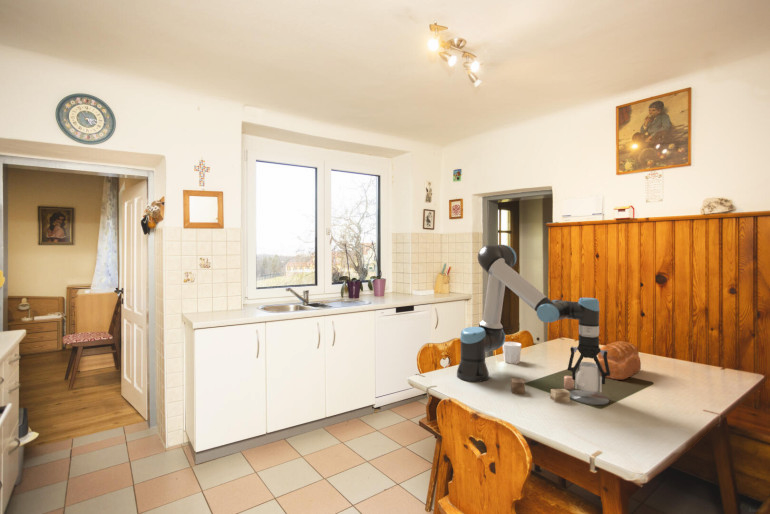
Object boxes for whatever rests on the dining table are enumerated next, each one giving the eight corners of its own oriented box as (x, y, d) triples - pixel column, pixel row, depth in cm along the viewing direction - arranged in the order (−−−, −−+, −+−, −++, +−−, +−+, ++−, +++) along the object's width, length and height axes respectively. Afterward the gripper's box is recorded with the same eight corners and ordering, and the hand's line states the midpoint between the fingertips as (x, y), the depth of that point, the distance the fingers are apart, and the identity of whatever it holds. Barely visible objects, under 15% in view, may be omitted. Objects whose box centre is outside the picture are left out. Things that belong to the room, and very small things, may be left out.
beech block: (555, 402, 158) (555, 392, 158) (550, 398, 162) (550, 389, 162) (569, 402, 158) (569, 392, 158) (564, 398, 162) (564, 388, 162)
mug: (586, 395, 156) (586, 369, 156) (567, 389, 163) (567, 364, 163) (604, 390, 162) (604, 365, 162) (585, 384, 169) (585, 360, 169)
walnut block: (512, 393, 167) (512, 382, 167) (510, 389, 172) (510, 378, 172) (524, 394, 166) (524, 382, 166) (522, 390, 171) (522, 379, 171)
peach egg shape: (563, 388, 173) (563, 377, 173) (564, 386, 176) (564, 375, 176) (573, 390, 171) (573, 379, 171) (574, 387, 174) (574, 376, 174)
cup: (523, 364, 210) (523, 346, 210) (505, 364, 210) (505, 346, 210) (517, 359, 220) (517, 341, 220) (499, 359, 220) (500, 341, 220)
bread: (592, 375, 192) (592, 343, 192) (613, 365, 209) (613, 336, 209) (623, 382, 182) (623, 349, 181) (643, 371, 198) (643, 341, 198)
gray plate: (566, 400, 159) (566, 398, 159) (569, 389, 172) (569, 387, 172) (609, 408, 152) (609, 406, 152) (608, 395, 165) (608, 393, 165)
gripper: (560, 334, 163) (559, 388, 164) (618, 339, 153) (618, 397, 153) (561, 331, 170) (561, 382, 170) (618, 336, 160) (617, 391, 160)
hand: (588, 389), depth 162 cm, fingers closed on mug, 8 cm apart
